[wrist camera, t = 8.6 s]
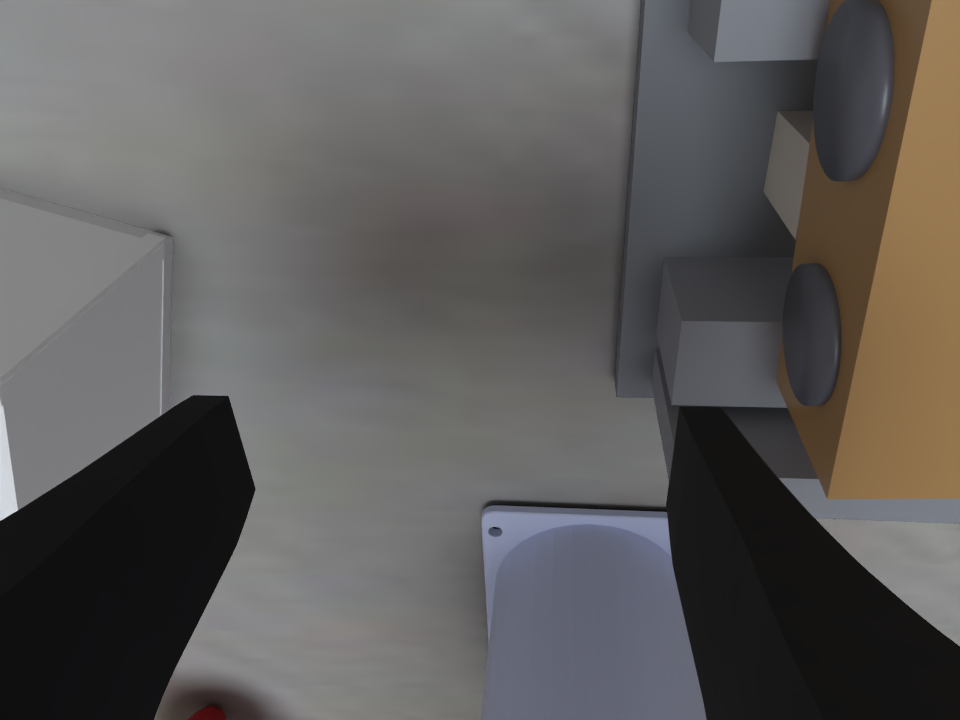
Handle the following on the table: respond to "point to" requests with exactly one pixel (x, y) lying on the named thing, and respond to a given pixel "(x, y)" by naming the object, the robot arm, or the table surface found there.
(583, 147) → the table surface
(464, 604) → the table surface
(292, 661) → the table surface
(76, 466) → the butter dish
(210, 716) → the strawberry
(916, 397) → the orange-brown rectangular block
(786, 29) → the display stand
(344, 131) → the table surface
